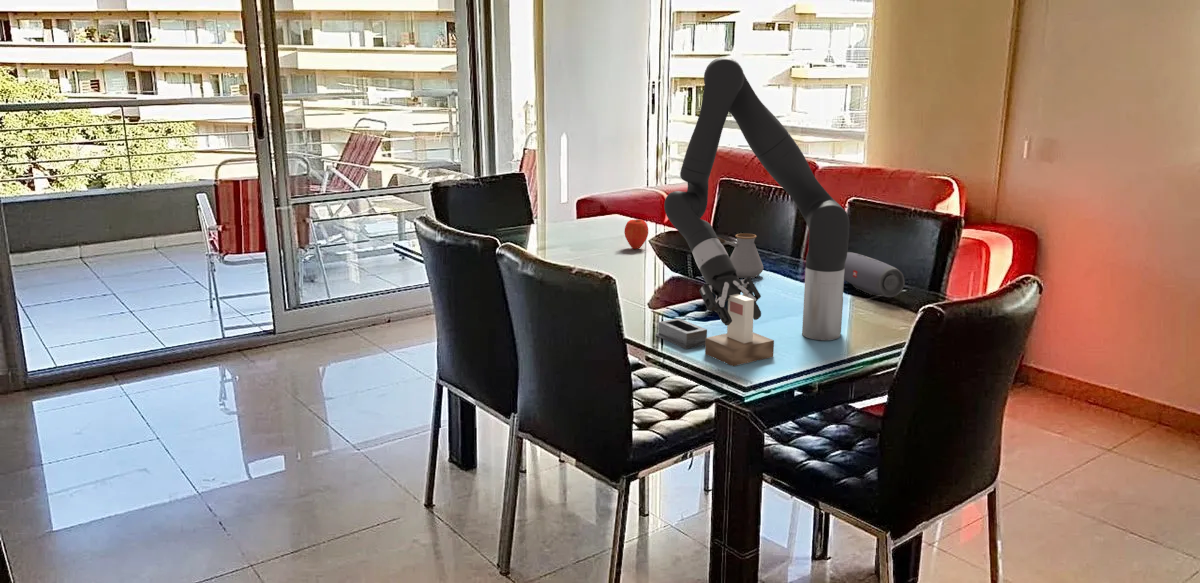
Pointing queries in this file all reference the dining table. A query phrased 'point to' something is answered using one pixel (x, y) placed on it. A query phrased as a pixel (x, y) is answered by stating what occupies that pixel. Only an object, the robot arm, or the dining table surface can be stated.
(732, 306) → the white box
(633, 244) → the apple
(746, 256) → the coffee pot
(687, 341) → the grey box
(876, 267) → the bluetooth speaker
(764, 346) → the brown wooden block
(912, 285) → the dining table surface
